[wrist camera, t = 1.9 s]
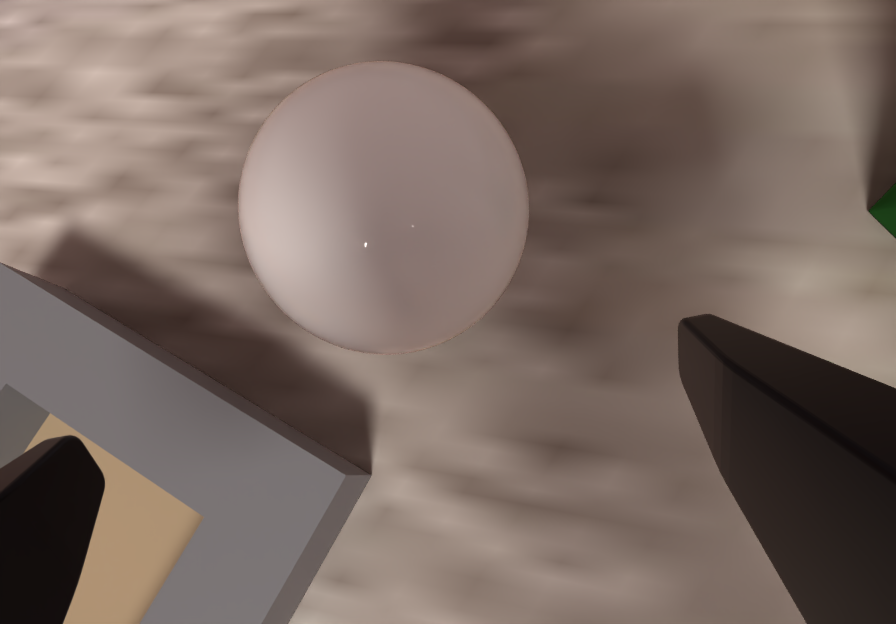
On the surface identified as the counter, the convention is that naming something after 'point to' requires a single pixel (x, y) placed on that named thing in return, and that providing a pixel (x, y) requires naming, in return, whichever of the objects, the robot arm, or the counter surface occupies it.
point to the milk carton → (886, 210)
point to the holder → (168, 469)
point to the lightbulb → (383, 207)
